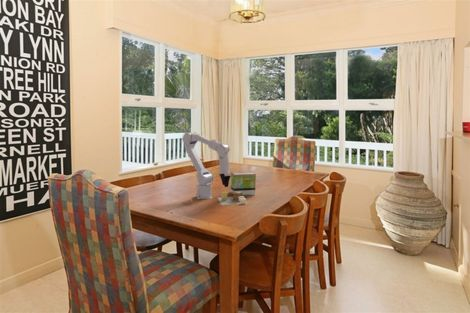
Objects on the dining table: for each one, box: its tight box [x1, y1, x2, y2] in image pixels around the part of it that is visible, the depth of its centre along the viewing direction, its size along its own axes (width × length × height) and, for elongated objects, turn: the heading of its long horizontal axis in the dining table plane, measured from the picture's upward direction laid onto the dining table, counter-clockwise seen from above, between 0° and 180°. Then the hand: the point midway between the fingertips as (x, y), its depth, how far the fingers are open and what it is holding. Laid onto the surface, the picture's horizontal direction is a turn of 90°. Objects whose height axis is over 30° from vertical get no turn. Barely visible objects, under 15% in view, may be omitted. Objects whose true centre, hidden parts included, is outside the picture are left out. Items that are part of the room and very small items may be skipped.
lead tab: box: [221, 191, 228, 201], centre depth 197 cm, size 3×3×5 cm
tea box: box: [229, 171, 257, 196], centre depth 214 cm, size 15×10×15 cm, turn 105°
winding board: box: [217, 191, 249, 206], centre depth 196 cm, size 16×18×6 cm
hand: (225, 185), depth 196 cm, fingers open, 7 cm apart
